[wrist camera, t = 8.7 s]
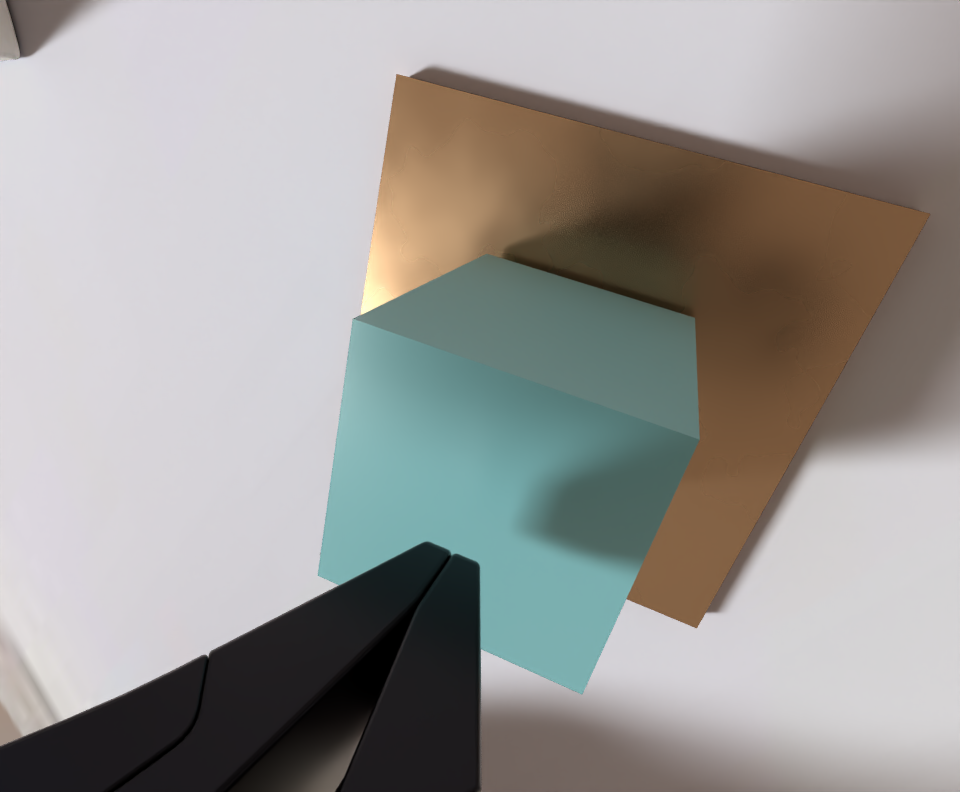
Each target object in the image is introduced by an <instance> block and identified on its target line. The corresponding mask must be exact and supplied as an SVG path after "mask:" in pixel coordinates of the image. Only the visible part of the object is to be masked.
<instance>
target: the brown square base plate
mask: <svg viewBox="0 0 960 792" xmlns="http://www.w3.org/2000/svg"><path fill="white" fill-rule="evenodd" d="M929 216H930V214H929V213H925V212H921V211H917V210H914V209H910V208H906V207H902V206H898V205H894V204H891V203H887V202H883V201H879V200H875V199H872V198H868V197H864V196H860V195H856V194H852V193H849V192H845V191H841V190H837V189H833V188H830V187H826V186H822V185H818V184H814V183H810V182H807V181H803V180H799V179H795V178H791V177H788V176H784V175H780V174H776V173H772V172H768V171H765V170H761V169H757V168H753V167H749V166H746V165H742V164H738V163H734V162H730V161H726V160H723V159H719V158H715V157H711V156H707V155H704V154H700V153H696V152H692V151H688V150H685V149H681V148H677V147H673V146H669V145H665V144H662V143H658V142H654V141H650V140H646V139H643V138H639V137H635V136H631V135H627V134H623V133H620V132H616V131H612V130H608V129H604V128H601V127H597V126H593V125H589V124H585V123H581V122H578V121H574V120H570V119H566V118H562V117H559V116H555V115H551V114H547V113H543V112H539V111H536V110H532V109H528V108H524V107H520V106H517V105H513V104H509V103H505V102H501V101H497V100H494V99H490V98H486V97H482V96H478V95H475V94H471V93H467V92H463V91H459V90H455V89H452V88H448V87H444V86H440V85H436V84H433V83H429V82H425V81H421V80H417V79H414V78H410V77H406V76H402V75H398V74H397V75H396V82H395V88H394V95H393V102H392V108H391V115H390V122H389V128H388V135H387V142H386V148H385V155H384V162H383V168H382V175H381V182H380V188H379V195H378V202H377V208H376V215H375V222H374V228H373V235H372V242H371V248H370V255H369V262H368V268H367V275H366V282H365V288H364V295H363V302H362V309H361V315H362V314H364V313H366V312H368V311H370V310H372V309H374V308H376V307H378V306H380V305H382V304H384V303H386V302H388V301H391V300H393V299H395V298H397V297H399V296H401V295H403V294H405V293H407V292H409V291H411V290H413V289H415V288H417V287H419V286H421V285H423V284H425V283H428V282H430V281H432V280H434V279H436V278H438V277H440V276H442V275H444V274H446V273H448V272H450V271H452V270H454V269H456V268H458V267H460V266H462V265H464V264H467V263H469V262H471V261H473V260H475V259H477V258H479V257H481V256H483V255H485V254H490V255H493V256H496V257H499V258H503V259H506V260H509V261H512V262H516V263H519V264H522V265H525V266H529V267H532V268H535V269H538V270H542V271H545V272H548V273H551V274H555V275H558V276H561V277H564V278H568V279H571V280H574V281H577V282H580V283H584V284H587V285H590V286H593V287H597V288H600V289H603V290H606V291H610V292H613V293H616V294H619V295H623V296H626V297H629V298H632V299H636V300H639V301H642V302H645V303H649V304H652V305H655V306H658V307H662V308H665V309H668V310H671V311H675V312H678V313H681V314H684V315H687V316H691V317H694V318H695V332H696V358H697V383H698V409H699V435H700V440H699V442H698V444H697V447H696V449H695V451H694V453H693V455H692V457H691V460H690V462H689V464H688V466H687V468H686V470H685V473H684V475H683V477H682V479H681V481H680V483H679V486H678V488H677V490H676V492H675V494H674V496H673V499H672V501H671V503H670V505H669V507H668V509H667V512H666V514H665V516H664V518H663V520H662V522H661V525H660V527H659V529H658V531H657V533H656V535H655V538H654V540H653V542H652V544H651V546H650V548H649V551H648V553H647V555H646V557H645V559H644V561H643V564H642V566H641V568H640V570H639V572H638V574H637V577H636V579H635V581H634V583H633V585H632V587H631V590H630V592H629V594H628V596H627V598H626V599H628V600H630V601H633V602H635V603H637V604H640V605H642V606H644V607H647V608H649V609H652V610H654V611H656V612H659V613H661V614H664V615H666V616H668V617H671V618H673V619H676V620H678V621H680V622H683V623H685V624H688V625H690V626H692V627H695V628H697V627H698V625H699V623H700V622H701V620H702V618H703V616H704V615H705V613H706V611H707V609H708V607H709V606H710V604H711V602H712V600H713V599H714V597H715V595H716V593H717V592H718V590H719V588H720V586H721V584H722V583H723V581H724V579H725V577H726V576H727V574H728V572H729V570H730V568H731V567H732V565H733V563H734V561H735V560H736V558H737V556H738V554H739V553H740V551H741V549H742V547H743V545H744V544H745V542H746V540H747V538H748V537H749V535H750V533H751V531H752V529H753V528H754V526H755V524H756V522H757V521H758V519H759V517H760V515H761V514H762V512H763V510H764V508H765V506H766V505H767V503H768V501H769V499H770V498H771V496H772V494H773V492H774V490H775V489H776V487H777V485H778V483H779V482H780V480H781V478H782V476H783V475H784V473H785V471H786V469H787V467H788V466H789V464H790V462H791V460H792V459H793V457H794V455H795V453H796V451H797V450H798V448H799V446H800V444H801V443H802V441H803V439H804V437H805V436H806V434H807V432H808V430H809V428H810V427H811V425H812V423H813V421H814V420H815V418H816V416H817V414H818V413H819V411H820V409H821V407H822V405H823V404H824V402H825V400H826V398H827V397H828V395H829V393H830V391H831V389H832V388H833V386H834V384H835V382H836V381H837V379H838V377H839V375H840V374H841V372H842V370H843V368H844V366H845V365H846V363H847V361H848V359H849V358H850V356H851V354H852V352H853V350H854V349H855V347H856V345H857V343H858V342H859V340H860V338H861V336H862V335H863V333H864V331H865V329H866V327H867V326H868V324H869V322H870V320H871V319H872V317H873V315H874V313H875V311H876V310H877V308H878V306H879V304H880V303H881V301H882V299H883V297H884V296H885V294H886V292H887V290H888V288H889V287H890V285H891V283H892V281H893V280H894V278H895V276H896V274H897V272H898V271H899V269H900V267H901V265H902V264H903V262H904V260H905V258H906V257H907V255H908V253H909V251H910V249H911V248H912V246H913V244H914V242H915V241H916V239H917V237H918V235H919V234H920V232H921V230H922V228H923V226H924V225H925V223H926V221H927V219H928V218H929Z"/></svg>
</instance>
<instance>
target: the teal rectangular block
mask: <svg viewBox="0 0 960 792" xmlns="http://www.w3.org/2000/svg"><path fill="white" fill-rule="evenodd" d="M699 440H700V435H699V409H698V383H697V358H696V332H695V318H694V317H691V316H687V315H684V314H681V313H678V312H675V311H671V310H668V309H665V308H662V307H658V306H655V305H652V304H649V303H645V302H642V301H639V300H636V299H632V298H629V297H626V296H623V295H619V294H616V293H613V292H610V291H606V290H603V289H600V288H597V287H593V286H590V285H587V284H584V283H580V282H577V281H574V280H571V279H568V278H564V277H561V276H558V275H555V274H551V273H548V272H545V271H542V270H538V269H535V268H532V267H529V266H525V265H522V264H519V263H516V262H512V261H509V260H506V259H503V258H499V257H496V256H493V255H490V254H485V255H483V256H481V257H479V258H477V259H475V260H473V261H471V262H469V263H467V264H464V265H462V266H460V267H458V268H456V269H454V270H452V271H450V272H448V273H446V274H444V275H442V276H440V277H438V278H436V279H434V280H432V281H430V282H428V283H425V284H423V285H421V286H419V287H417V288H415V289H413V290H411V291H409V292H407V293H405V294H403V295H401V296H399V297H397V298H395V299H393V300H391V301H388V302H386V303H384V304H382V305H380V306H378V307H376V308H374V309H372V310H370V311H368V312H366V313H364V314H362V315H360V316H358V317H356V318H354V319H353V321H352V329H351V336H350V343H349V351H348V358H347V365H346V373H345V380H344V387H343V394H342V402H341V409H340V416H339V424H338V431H337V438H336V446H335V453H334V460H333V468H332V475H331V482H330V490H329V497H328V504H327V511H326V519H325V526H324V533H323V541H322V548H321V555H320V563H319V570H318V576H320V577H322V578H324V579H327V580H329V581H331V582H333V583H335V584H338V585H341V584H342V583H344V582H346V581H348V580H350V579H352V578H354V577H356V576H358V575H360V574H362V573H364V572H366V571H368V570H370V569H372V568H374V567H376V566H377V565H379V564H381V563H383V562H385V561H387V560H389V559H391V558H393V557H395V556H397V555H399V554H401V553H403V552H405V551H407V550H409V549H411V548H412V547H414V546H416V545H418V544H420V543H422V542H426V541H429V542H432V543H434V544H437V545H439V546H441V547H444V548H446V549H448V550H450V552H451V555H453V554H456V553H457V554H460V555H462V556H465V557H467V558H469V559H472V560H474V561H476V562H478V563H479V565H480V618H481V649H482V650H484V651H487V652H489V653H491V654H493V655H495V656H498V657H500V658H502V659H504V660H507V661H509V662H511V663H513V664H515V665H518V666H520V667H522V668H524V669H527V670H529V671H531V672H533V673H535V674H538V675H540V676H542V677H544V678H547V679H549V680H551V681H553V682H555V683H558V684H560V685H562V686H564V687H567V688H569V689H571V690H573V691H575V692H578V693H580V694H583V692H584V689H585V687H586V685H587V683H588V681H589V679H590V676H591V674H592V672H593V670H594V668H595V666H596V663H597V661H598V659H599V657H600V655H601V653H602V650H603V648H604V646H605V644H606V642H607V640H608V637H609V635H610V633H611V631H612V629H613V627H614V624H615V622H616V620H617V618H618V616H619V614H620V611H621V609H622V607H623V605H624V603H625V600H626V598H627V596H628V594H629V592H630V590H631V587H632V585H633V583H634V581H635V579H636V577H637V574H638V572H639V570H640V568H641V566H642V564H643V561H644V559H645V557H646V555H647V553H648V551H649V548H650V546H651V544H652V542H653V540H654V538H655V535H656V533H657V531H658V529H659V527H660V525H661V522H662V520H663V518H664V516H665V514H666V512H667V509H668V507H669V505H670V503H671V501H672V499H673V496H674V494H675V492H676V490H677V488H678V486H679V483H680V481H681V479H682V477H683V475H684V473H685V470H686V468H687V466H688V464H689V462H690V460H691V457H692V455H693V453H694V451H695V449H696V447H697V444H698V442H699Z"/></svg>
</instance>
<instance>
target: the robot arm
mask: <svg viewBox="0 0 960 792" xmlns="http://www.w3.org/2000/svg"><path fill="white" fill-rule="evenodd" d="M0 792H481V618H480V565H479V563H478V562H476V561H474V560H472V559H469V558H467V557H465V556H462V555H460V554H457V553H456V554H453V555H451V552H450V550H448V549H446V548H444V547H441V546H439V545H437V544H434V543H432V542H429V541H426V542H422V543H420V544H418V545H416V546H414V547H412V548H411V549H409V550H407V551H405V552H403V553H401V554H399V555H397V556H395V557H393V558H391V559H389V560H387V561H385V562H383V563H381V564H379V565H377V566H376V567H374V568H372V569H370V570H368V571H366V572H364V573H362V574H360V575H358V576H356V577H354V578H352V579H350V580H348V581H346V582H344V583H342V584H341V585H339V586H337V587H335V588H333V589H331V590H329V591H327V592H325V593H323V594H321V595H319V596H317V597H315V598H313V599H311V600H309V601H307V602H305V603H304V604H302V605H300V606H298V607H296V608H294V609H292V610H290V611H288V612H286V613H284V614H282V615H280V616H278V617H276V618H274V619H272V620H270V621H269V622H267V623H265V624H263V625H261V626H259V627H257V628H255V629H253V630H251V631H249V632H247V633H245V634H243V635H241V636H239V637H237V638H235V639H233V640H232V641H230V642H228V643H226V644H224V645H222V646H220V647H218V648H216V649H214V650H212V651H211V652H210V653H209V657H208V656H207V655H202V656H200V657H198V658H196V659H194V660H192V661H190V662H188V663H186V664H184V665H182V666H180V667H178V668H176V669H175V670H173V671H170V672H168V673H166V674H164V675H162V676H160V677H158V678H156V679H154V680H152V681H150V682H148V683H146V684H144V685H142V686H140V687H137V688H135V689H133V690H131V691H129V692H127V693H125V694H123V695H121V696H118V697H116V698H114V699H111V700H109V701H107V702H104V703H102V704H100V705H97V706H95V707H93V708H90V709H88V710H86V711H84V712H81V713H79V714H77V715H74V716H72V717H70V718H67V719H65V720H63V721H60V722H58V723H55V724H53V725H50V726H48V727H45V728H43V729H41V730H38V731H36V732H33V733H31V734H28V735H26V736H23V737H21V738H19V739H16V740H14V741H11V742H9V743H7V744H4V745H2V746H0Z"/></svg>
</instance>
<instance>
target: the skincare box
mask: <svg viewBox="0 0 960 792" xmlns="http://www.w3.org/2000/svg"><path fill="white" fill-rule="evenodd" d="M19 57H20V50H19V47H18V43H17V39H16V35H15V31H14V27H13V24H12V20H11V17H10V13H9V10H8V7H7V3H6V0H0V61H4V60H14V59H18V58H19Z"/></svg>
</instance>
